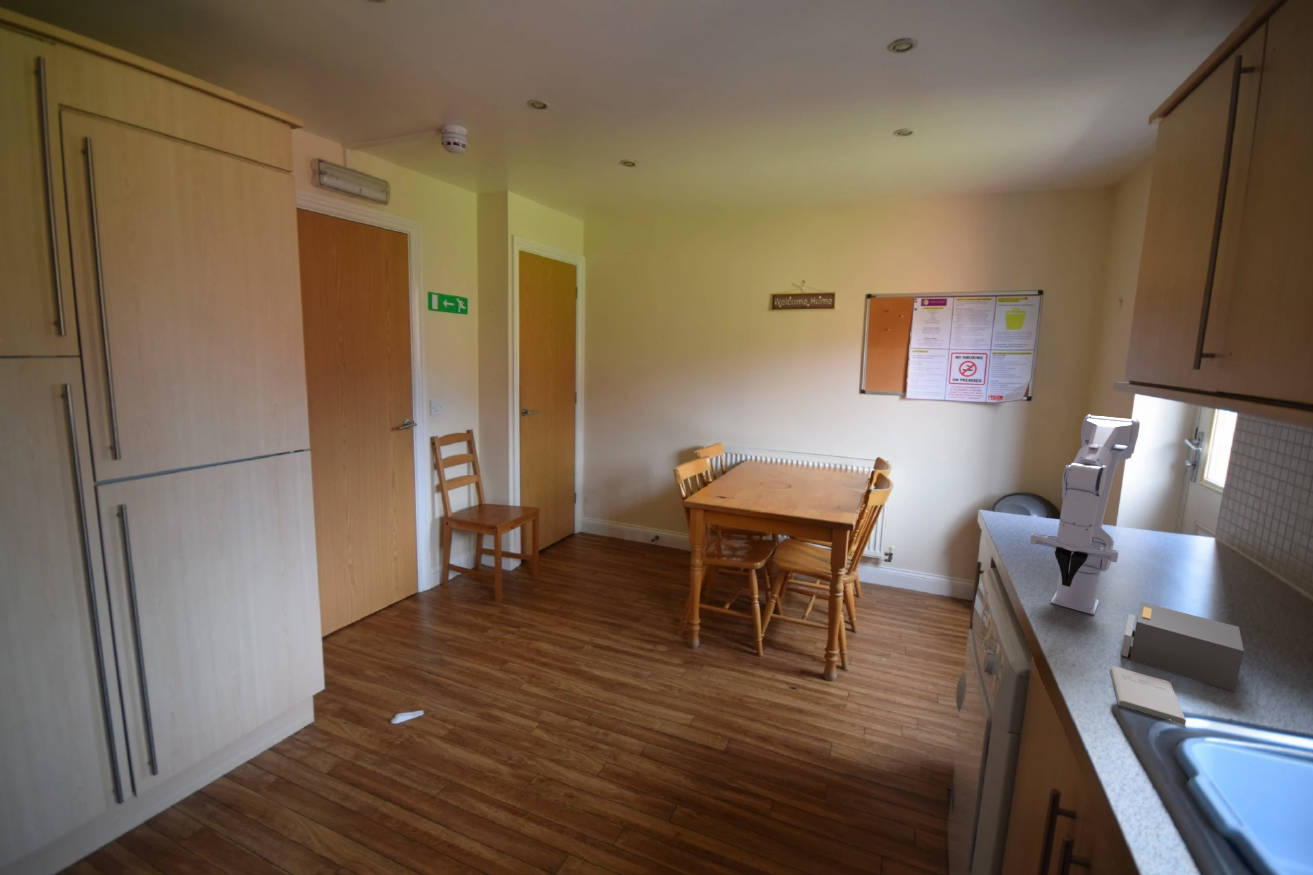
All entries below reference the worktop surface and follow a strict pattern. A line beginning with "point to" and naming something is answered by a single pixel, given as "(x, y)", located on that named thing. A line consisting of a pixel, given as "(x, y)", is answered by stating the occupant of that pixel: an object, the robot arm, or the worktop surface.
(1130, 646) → the tray
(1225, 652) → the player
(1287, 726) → the worktop surface
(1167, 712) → the external hard drive
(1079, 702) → the worktop surface
